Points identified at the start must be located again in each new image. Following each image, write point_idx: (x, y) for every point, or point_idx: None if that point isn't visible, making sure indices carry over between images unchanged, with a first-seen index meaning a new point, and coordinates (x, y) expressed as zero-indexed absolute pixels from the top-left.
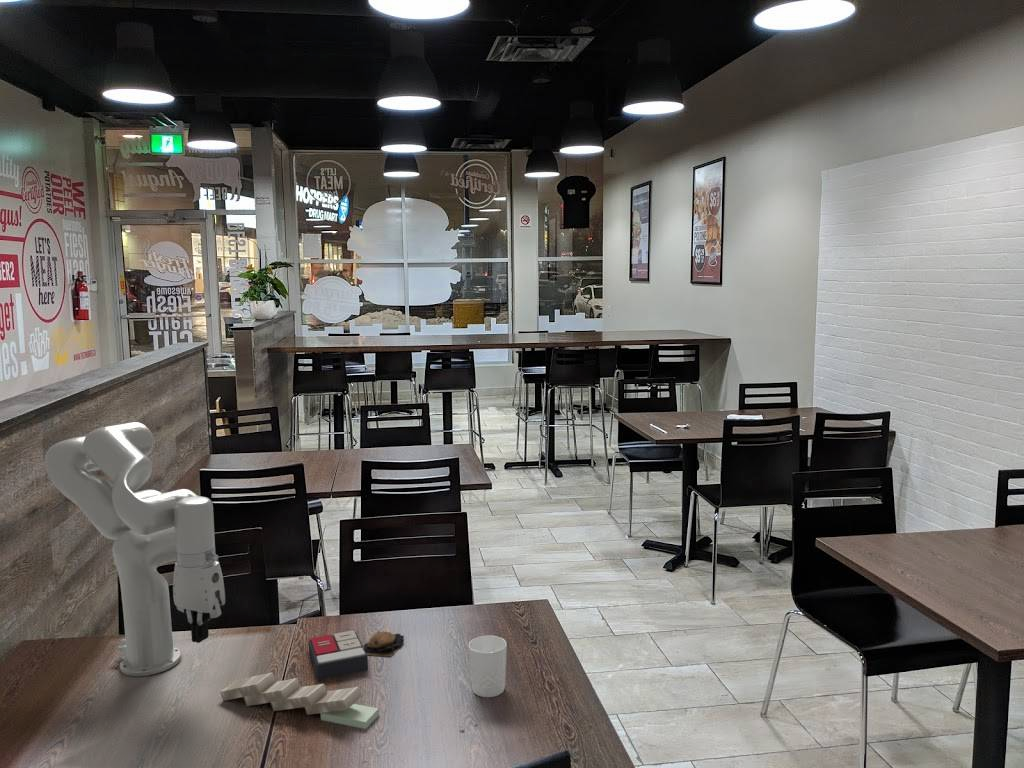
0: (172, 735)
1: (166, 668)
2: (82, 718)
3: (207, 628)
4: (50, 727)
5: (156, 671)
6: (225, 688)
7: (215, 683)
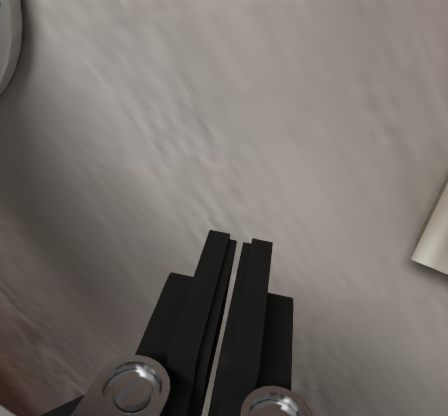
0: (333, 393)
1: (17, 47)
2: (38, 329)
3: (291, 351)
4: (6, 357)
5: (4, 85)
6: (429, 241)
7: (314, 117)
